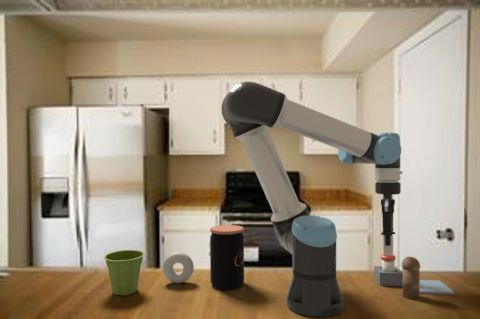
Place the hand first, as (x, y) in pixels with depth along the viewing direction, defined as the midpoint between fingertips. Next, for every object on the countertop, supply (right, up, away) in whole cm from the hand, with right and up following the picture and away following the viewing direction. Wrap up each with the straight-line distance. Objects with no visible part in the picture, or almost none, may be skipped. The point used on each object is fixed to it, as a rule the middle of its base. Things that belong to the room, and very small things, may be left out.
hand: (388, 254), depth 118 cm
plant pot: (-82, -10, -6) cm, 83 cm away
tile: (+10, -9, -5) cm, 15 cm away
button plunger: (0, -8, 0) cm, 8 cm away
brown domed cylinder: (+2, -9, -12) cm, 15 cm away
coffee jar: (-51, -9, -1) cm, 52 cm away
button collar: (0, -9, 0) cm, 9 cm away
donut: (-67, -10, +1) cm, 68 cm away
